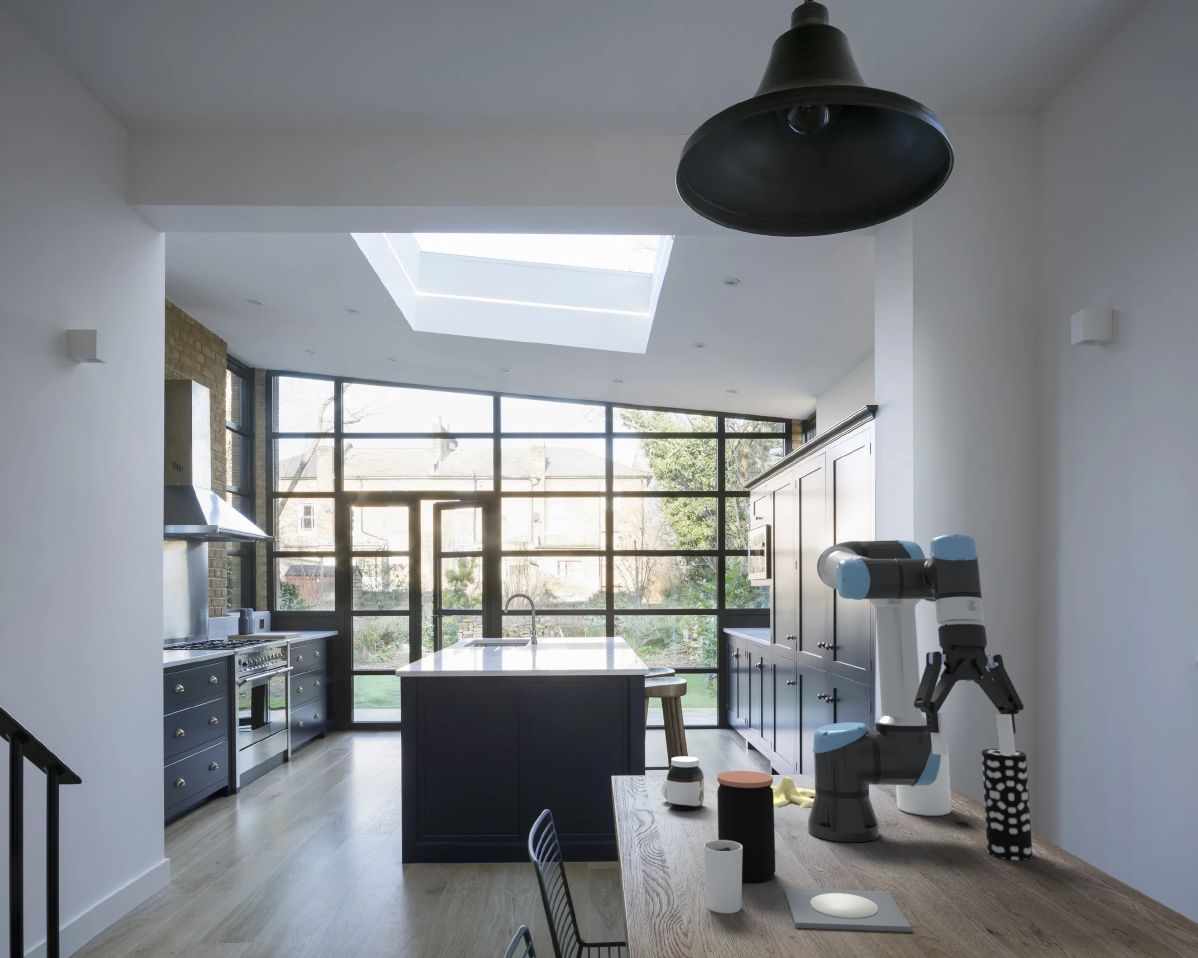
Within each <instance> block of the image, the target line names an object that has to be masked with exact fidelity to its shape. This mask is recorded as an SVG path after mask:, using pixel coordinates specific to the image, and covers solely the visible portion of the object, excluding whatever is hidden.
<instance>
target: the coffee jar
mask: <svg viewBox="0 0 1198 958" xmlns="http://www.w3.org/2000/svg"><path fill="white" fill-rule="evenodd" d="M716 778H717V780H716V781H717V782H718V783H719V786H718V787H717V791H716V792H717V794H716V795H717V832H718V833H717V840H727V841H734V842H737V843H739V844H741V845H742V847H743V850H742V884H743V883H744V884H759V883H765V882H768V881H769V880H771V879H772V878H773V876H774V875H775V873H776V843H775V842H776V841H775V839H776V838H775V836H776V835H775V808H774V797H773V789H772V788H771V786H773V783H774V779H773V778H774V777H773V775H770V774H768V773H764V772H761V771H760V772H759V771H752V770H732V771H724V772H720V773H719V774H717V777H716Z"/></svg>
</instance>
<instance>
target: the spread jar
mask: <svg viewBox="0 0 1198 958" xmlns="http://www.w3.org/2000/svg"><path fill="white" fill-rule="evenodd" d="M699 761H700V760H699V758H698V757H695V756H688V755H687V756H686V755H685V756H684V755H683V756H682V755H681V756H674V757H671V767H670V768H669V770H668V773H667V775H666V779H665V780H664V781H663V784H662V786H661V795H662V797H663V798H664V799H666V801H667V804H668V806H669V807H670V808H672V809H673V810H675V811H683V812H691V811H697V810H699V809H701V808H702V806H703V803H704V799H705V777H704V772H703V770H702V768H700V766H699V765H700V762H699Z"/></svg>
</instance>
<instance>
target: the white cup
mask: <svg viewBox="0 0 1198 958" xmlns="http://www.w3.org/2000/svg"><path fill="white" fill-rule="evenodd" d="M742 850H743V847H742V845H741V844H739V843H737V842H734V841H727V840H718V839H715V840H709V841H706V842H704V844H703V859H704V875H705V893H706V907H707V909H708V910H710V911H711V912H715V913H719V914H733V913H734V914H735V913H737V912H740V910H741V909H742V897H743V896H742V893H743V891H742V890H743V883H742Z"/></svg>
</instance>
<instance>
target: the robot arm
mask: <svg viewBox="0 0 1198 958" xmlns="http://www.w3.org/2000/svg"><path fill="white" fill-rule="evenodd" d="M929 548H930V549H929V550H930V552H929V556H930V558H926V556H925V553H924V551H923V549H922V548H921V546H920V545H919V544H918V543H916V542H914V541H910V540H899V539H898V540H896V539H895V540H867V541H866V540H862V541H859V540H851V541H850V540H849V541H843V542H839V543H837V544H834V545H832V546H829V547H828V548H826V549H825V550H823V551H822V553H821V554H820V555H819V557H818V559H817V564H816V571H817V574H818V577H819V579H820V580H821V582H822V583H823V584H825V585H826V586H827V587H830V588H832V589H834V590H837V591H838V595H839V597H841V598H842V599H847V600H848V599H849V600H856V601H859V600H860V601H861V600H868V601H869V602H870V603H871V604H872V605H873V606H874V607H875V618H876V621H875V623H876V638H877V654H878V672H879V673H878V675H879V691H880V692H879V693H880V708H881V710H880V711H881V713H880V716H879V715H878V717H877V718H876V719H875V721H874V726H875V727H874V728H875V729H868V726H867V724H865V723H862V722H858V721H857V722H850V721H849V722H845V721H844V722H837V723H832V724H831V723H830V724H827V725H823V726H821V727H819V728H817V729H816V730H815V732H814V734H813V748H812V751H813V761H814V762H813V763H814V790H815V797H813V799H814V802H813V805H812V807H811V808H810V813H809V815H808V820H807V828H808V830H807V831H808V833H809V834H811V835H812V836H814V837H817V838H820V839H823V840H828V841H831V842H832V841H834V842H841V843H864V842H870V841H874V840H876V839H878V838H879V837H880V824H879V821H878V818H877V816H876V813H875V810H874V807H873V805H872V802H871V798H870V785H871V786H872V785H873V786H896V785H910V786H912V787H913V786H918V785H930V784H932V783H933V782H934V781H935V780H936V778H937V775H938V773H939V768H940V761H941V755H948V754H949V752H948V753H947V746H948V743H947V735H946V733H947V731H946V724H945V713H944V712H939V711H940V709H941V708H942V706H943V705H944V702H945V701H946V699H947V698H948V696H949V694H950V693H951V692H952V690H953V687H954V686H955V684H956V683H957V682H960V681H966V682H968V681H969V682H972V681H973V683H975V684H977V685H978V686H979V687H980V689H981V690H982V691H983V693H984V694H985V695H986V696H987V697H988V699H989V700H990V701H991V703H992V704H993V706H994V707H995V708H996V709H997V711H998V712H999V713H1000V714H997V713H996V714H995V719H996V721H995V722H996V728H997V737H998V747H999V748H998V749H1000V755H1016V751H1017V750H1016V746H1015V744H1016V743H1015V734H1016V732H1017V731H1016V729H1017V728H1016V721H1015V715H1018V714H1019V713H1020V711H1023V710H1024V704H1023V702H1022V700H1021V698H1020V697H1019V694H1018V693H1017V690H1016V688H1015V686H1014V684H1013V683H1012V680H1011V679H1010V676H1009V674H1008V672H1007V671H1006V667H1005V665H1004V664H1005V663H1004V661H1003V657H1002V654H999V653H996V654H988V655H987V653H986V650H985V649H986V647H987V646H988V642H987V639H988V638H987V631H986V627H985V626H984V625H983V624H982V623H983V622H985V616H984V615H985V614H984V607H983V605H984V604H983V599H982V598H983V597H982V596H983V595H982V587H981V577H980V569H979V554H978V550H977V545H976V541H975V538H973V537H972V536H970V535H967V534H959V533H958V534H945V535H939V536H937V537H934V538H932V539H931V541H930V543H929ZM921 600H925V601H927V602H932V603H935V613H936V615H935V616H936V622H937V624H939V625H940V626H939V627H938V628H937V633H938V642H939V644H938V645H939V647H940V648H941V649H942V652H941V651H929V652H928V651H927V652H926V655H925V667H924V669H923V670H924V671H923V674H922V677H921V678H920V664H919V649H918V647H919V646H918V636H917V635H918V632H917V618H916V605H918V603H919V602H920V601H921ZM942 665H943V666H944V669H943V671H942ZM941 671H942V673H941ZM939 678H940V679H939ZM938 680H939V681H938ZM937 682H938V683H937ZM924 713H925V717H924V716H923V714H924Z"/></svg>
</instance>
